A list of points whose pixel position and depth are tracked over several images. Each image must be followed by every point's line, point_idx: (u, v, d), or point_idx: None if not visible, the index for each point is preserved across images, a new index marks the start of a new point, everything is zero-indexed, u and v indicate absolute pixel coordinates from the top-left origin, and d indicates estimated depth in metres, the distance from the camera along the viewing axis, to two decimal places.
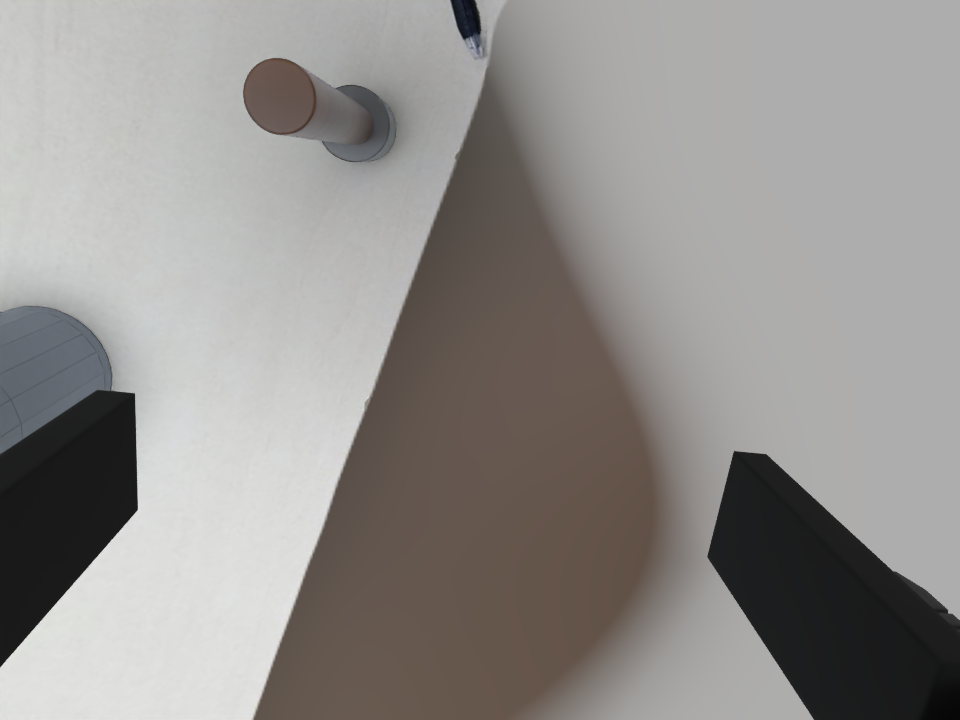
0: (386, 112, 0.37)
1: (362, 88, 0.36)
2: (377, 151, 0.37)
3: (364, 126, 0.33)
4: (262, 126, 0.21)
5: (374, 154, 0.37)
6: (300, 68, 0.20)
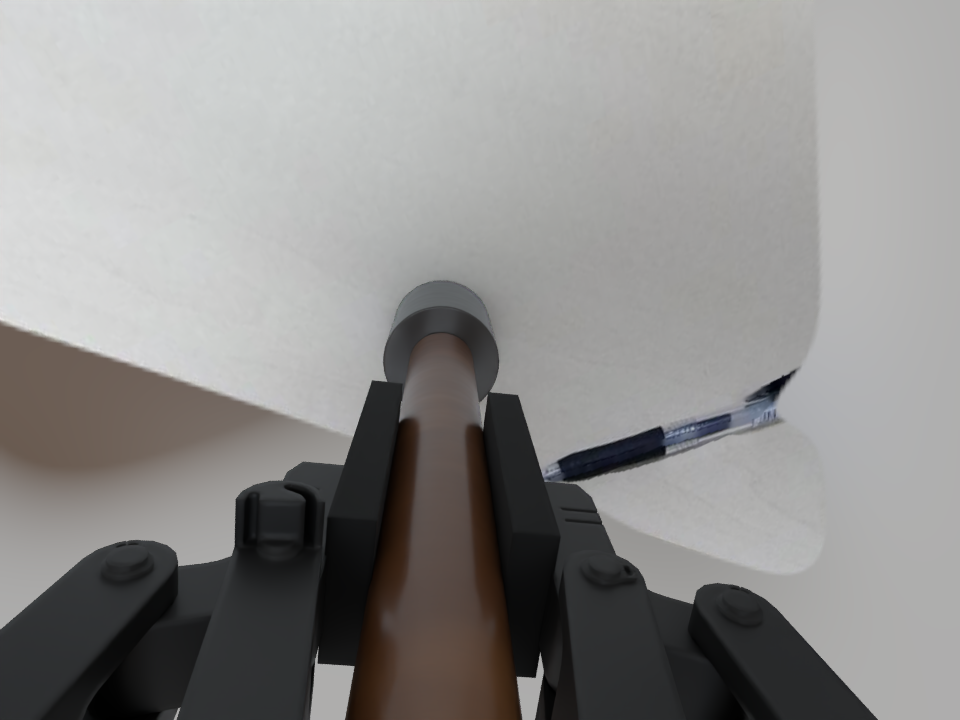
0: None
1: (493, 378, 0.23)
2: (401, 398, 0.23)
3: None
4: None
5: None
6: None
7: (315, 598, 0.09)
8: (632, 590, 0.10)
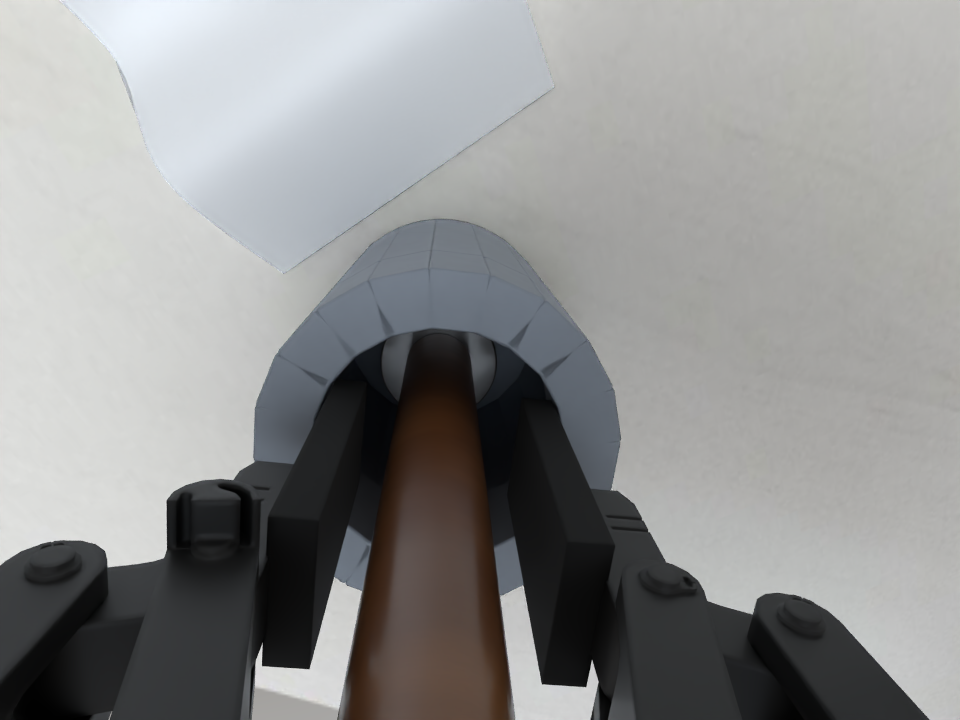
0: None
1: (491, 380, 0.23)
2: (398, 399, 0.23)
3: None
4: None
5: (393, 395, 0.23)
6: None
7: (252, 597, 0.08)
8: (692, 601, 0.09)
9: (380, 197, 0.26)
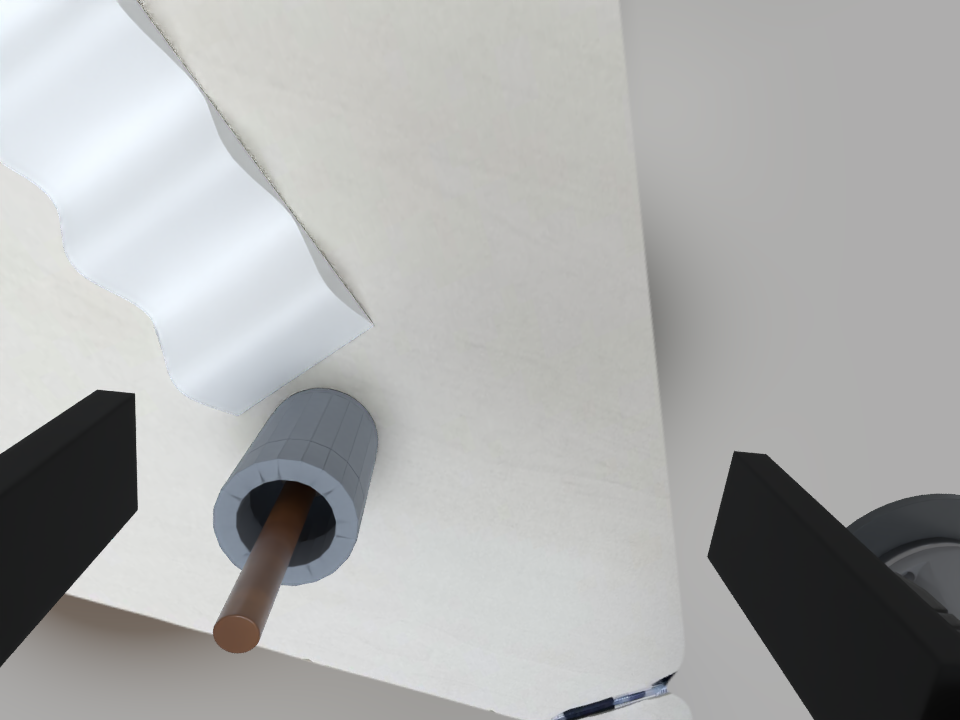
0: (317, 495, 0.48)
1: None
2: None
3: None
4: (216, 624, 0.31)
5: None
6: None
7: None
8: None
9: (286, 379, 0.52)
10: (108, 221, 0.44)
